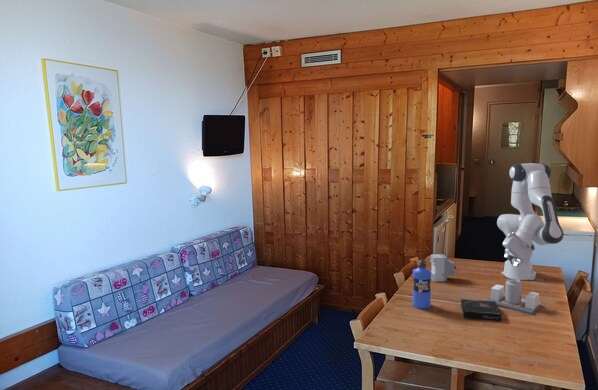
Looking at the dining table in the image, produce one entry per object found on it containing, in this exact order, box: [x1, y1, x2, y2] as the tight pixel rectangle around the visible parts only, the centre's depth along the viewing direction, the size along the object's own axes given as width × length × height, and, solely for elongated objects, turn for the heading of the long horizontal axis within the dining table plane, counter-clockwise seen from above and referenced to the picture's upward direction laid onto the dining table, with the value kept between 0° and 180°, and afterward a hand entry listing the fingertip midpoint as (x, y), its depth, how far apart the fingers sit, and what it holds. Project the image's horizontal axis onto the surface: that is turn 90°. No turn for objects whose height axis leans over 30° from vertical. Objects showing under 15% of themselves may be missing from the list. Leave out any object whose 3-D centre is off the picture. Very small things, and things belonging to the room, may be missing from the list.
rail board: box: [486, 284, 542, 316], centre depth 218 cm, size 15×22×7 cm
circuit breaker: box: [429, 253, 457, 283], centre depth 259 cm, size 8×14×15 cm, turn 89°
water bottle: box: [412, 258, 432, 310], centre depth 218 cm, size 9×9×25 cm
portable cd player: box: [460, 298, 502, 322], centre depth 209 cm, size 16×17×4 cm
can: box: [504, 278, 523, 304], centre depth 217 cm, size 8×8×12 cm
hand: (510, 261), depth 227 cm, fingers open, 8 cm apart
